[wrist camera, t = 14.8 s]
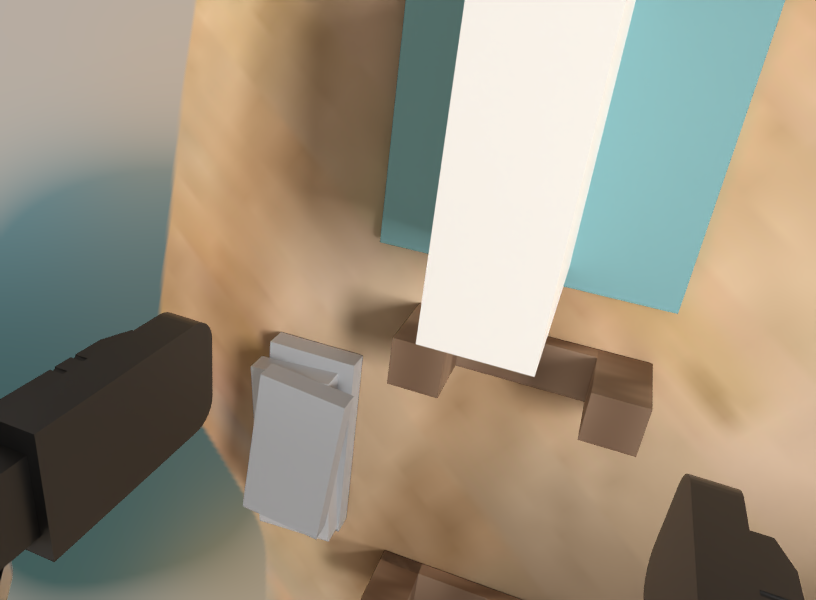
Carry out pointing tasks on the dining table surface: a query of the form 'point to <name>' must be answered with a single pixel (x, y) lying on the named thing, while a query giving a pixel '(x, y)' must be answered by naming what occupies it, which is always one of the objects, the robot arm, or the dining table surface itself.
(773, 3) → the teal mat
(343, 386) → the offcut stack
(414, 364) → the walnut rack
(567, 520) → the dining table surface
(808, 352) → the dining table surface
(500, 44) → the off-white panel
